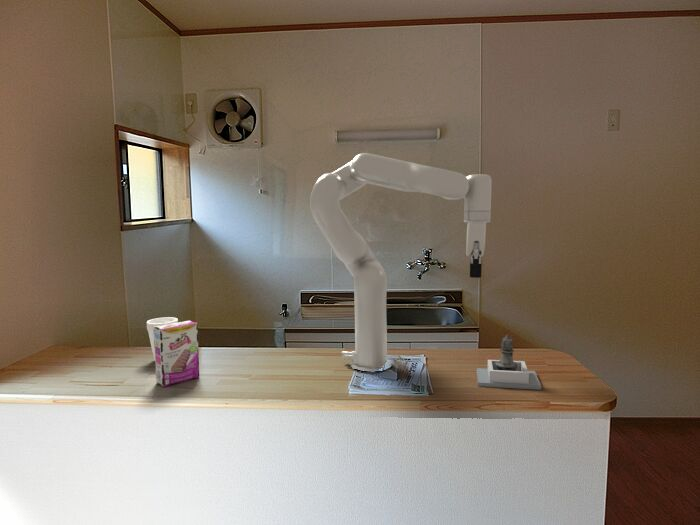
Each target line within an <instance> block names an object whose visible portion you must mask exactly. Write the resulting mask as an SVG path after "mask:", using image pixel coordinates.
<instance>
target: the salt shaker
mask: <svg viewBox="0 0 700 525" xmlns="http://www.w3.org/2000/svg"><path fill="white" fill-rule="evenodd" d="M513 343H514V342H513V339H512V338H511V337H509V334H508V333H507V334H506V335H505V337H502V339H501V348H500V350H499V351H500V354H501V355H500V359H499V360H500V361H498V362H496V365H497V369H498V370H503V371H516V369H517V366H518V364H517V363H515V362H513V361H514V358H513V357H514V356H513V355H514V354H513V353H514V352H515V350H514V348H513V345H514V344H513Z"/></svg>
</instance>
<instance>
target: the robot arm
mask: <svg viewBox="0 0 700 525" xmlns="http://www.w3.org/2000/svg"><path fill="white" fill-rule="evenodd" d="M492 180H493V179H492V177H491V175H489V174H484V173H482V174H481V173H479V174H477V173H475V174H469V175H464V174H463V173H461V172H458V171H454V170H448V169H445V168H441V167H434V166H429V165H424V164H419V163H416V162H411V161H405V160H401V159H397V158H391V157H389V156H388V157H386V156H382V155H379V154H375V153H374V154H373V153H368V152H362V153H358V154H357V155H355V156H354V157H353V159H352V160H351V161H349V162H347V163H346V164H345V165H343V166H341V167H339V168H338V169H337V170H335V171H333V172H328V173H327V172H326V173H323V174H322V175H321V176H319V178H318V179H317V180H316V181H315V183H314V185H313V187H312V190H311V193H310V197H309V198H310V199H309V208H310V213H311V216H312V218H313V220H314V222H315V223H316V225H317V228H318V229H319V230H320V232H321V233H322V234H323V236H324V238H325V240H326V242H327V243H328V244H329V245H330V247H331V249H332V250H333V253H334V255H335V257H336V258H337V259H338V260H339V261H341V262H342V263H343V264H344V266H345V268H346V269H347V271H348V272H349V274H350V275H351V276H352V278H353V294H354V296H353V300H354V302H353V303H354V307H353V308H354V336H355V337H354V342H355V343H354V345H355V346H354V347H355V348H354V350H352V351H347V350H346V351H344V350H342V351H341V358H343V359H344V360H351V361H350V367H352V369H353V370H354V369H358V370H364V371H374V370H379V369H381V368H383V367H382V366H383V365H384V364H385V363H386V362H387V359H388V347H387V346H388V339H387V337H388V332H387V331H388V327H387V326H388V322H387V295H388V294H387V291H388V290H387V289H388V279H387V274H386V271H385V269H384V268H383V266H382V264H381V263H380V261H379V259H378V258H377V257H376V256H375V254H374V251H372V249H371V248H370V246H369V245H368V243H367V242H366V241H365V239H364V238H363V236H362V235H361V234H360V233H359V232H357V231H356V230H355V227H354V226H352V223H351V222H350V221H349V219H348V217H347V215H346V214H345V213H344V211H343V209H342V208H341V202H340V201H341V200H343V199H345V198H346V197H348V196H349V195H351V194H352V193H354V192H356V191H358V190H360V189H361V188H363V187H364V186H366V185H367V184H369V185H372V186H377V187H378V186H379V187H383V188H387V189H392V190H396V191H399V192H400V191H401V192H405V193H406V192H407V193H408V192H409V193H423V194H428V195H433V196H438V197H441V198H443V199H444V200H449V201H456V200H460V199H461V200H462V199H464V201H463V202H464V205H463V208H464V209H463V210H464V211H463V214H464V215H463V216H464V217H463V223H467V227H466V247H465V251H466V252H465V254H466V255H465V256H467V257H469V256H470V264H469V278H473V279H475V278H476V279H479V278H480V279H481V278H482V257H484V253H485V247H486V233H487V232H486V231H487V229H486V228H487V224H488V223H491V213H492V212H491V210H492V182H493V181H492Z"/></svg>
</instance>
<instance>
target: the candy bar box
mask: <svg viewBox="0 0 700 525" xmlns="http://www.w3.org/2000/svg"><path fill="white" fill-rule="evenodd" d="M198 326H199V325H198V322H195V321H192V320H185V321H178V323H172V324H166V325H161V326H155V327H154V347H155V360H154V363H155V379H156V380H155V381H156V384H158V385H159V386H161V387H162V388H164V387H168V386H172V385H176V383H177V384H179V382H180V383H184V382H186V380H188V381H191V380H194V379H193V378H195V379H198V378H197V377H199V378H200V359H199V358H200V357H199V356H200V355H199V352H200V351H199V329H198ZM190 379H191V380H190ZM183 381H184V382H183Z"/></svg>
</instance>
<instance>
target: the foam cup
mask: <svg viewBox="0 0 700 525" xmlns="http://www.w3.org/2000/svg"><path fill="white" fill-rule="evenodd" d="M178 322H179V319H178V318H177V317H174V316H173V317H171V316H168V317H157V318H152V319H149V320H147V321H146V330H147V333H148V337H149V342H150V346H151V352H152V356H153V360H154V361H155V347H154V327H155V326H161V325H166V324H172V323H178Z"/></svg>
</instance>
